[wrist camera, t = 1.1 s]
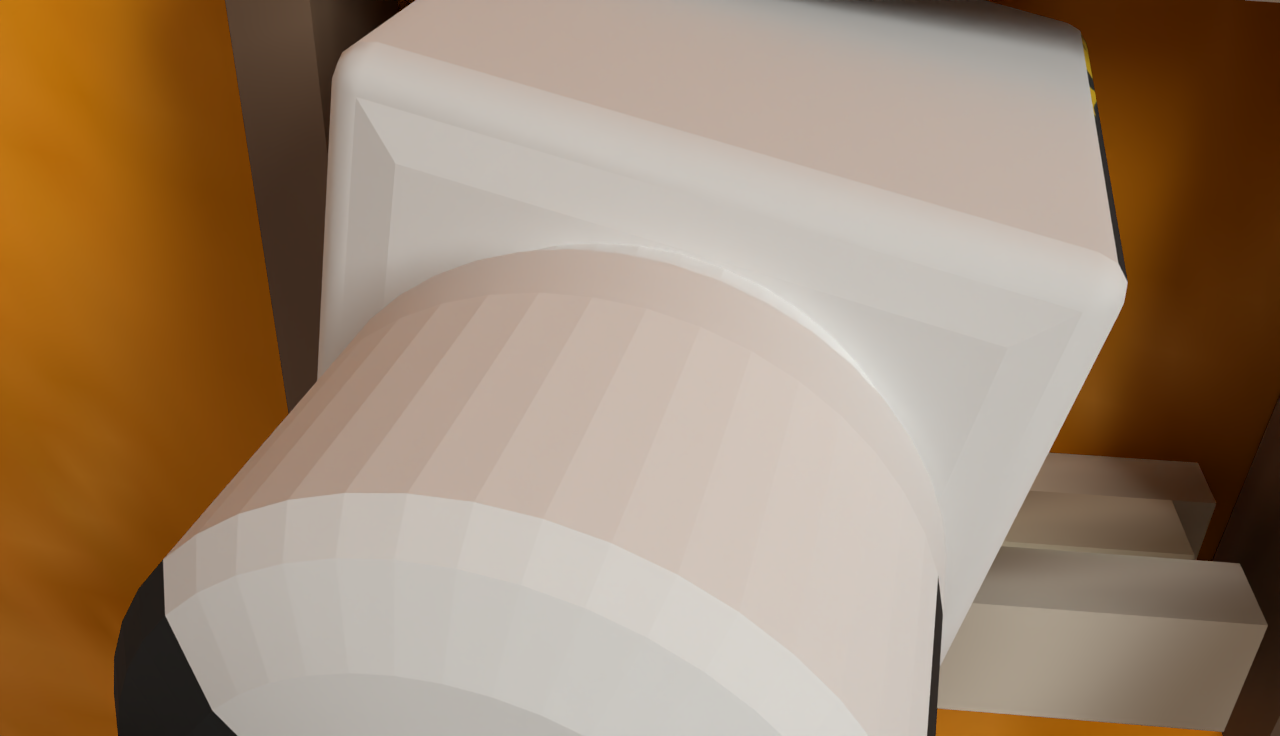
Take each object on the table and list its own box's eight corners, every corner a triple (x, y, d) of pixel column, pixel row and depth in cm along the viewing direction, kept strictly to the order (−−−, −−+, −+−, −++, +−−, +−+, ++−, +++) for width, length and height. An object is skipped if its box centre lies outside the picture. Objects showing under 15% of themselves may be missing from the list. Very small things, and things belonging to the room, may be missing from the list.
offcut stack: (1193, 454, 21) (1269, 620, 17) (1158, 558, 22) (1223, 731, 19) (474, 406, 22) (420, 556, 18) (482, 510, 23) (433, 667, 20)
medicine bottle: (914, 447, 20) (823, 1308, 10) (499, 317, 20) (26, 1002, 10) (1095, 21, 15) (1245, 773, 6) (566, -123, 16) (-109, 328, 6)
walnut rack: (1577, -125, 15) (1766, -48, 12) (1239, 636, 22) (1307, 796, 20) (308, -200, 16) (203, -145, 13) (388, 553, 23) (331, 694, 21)
